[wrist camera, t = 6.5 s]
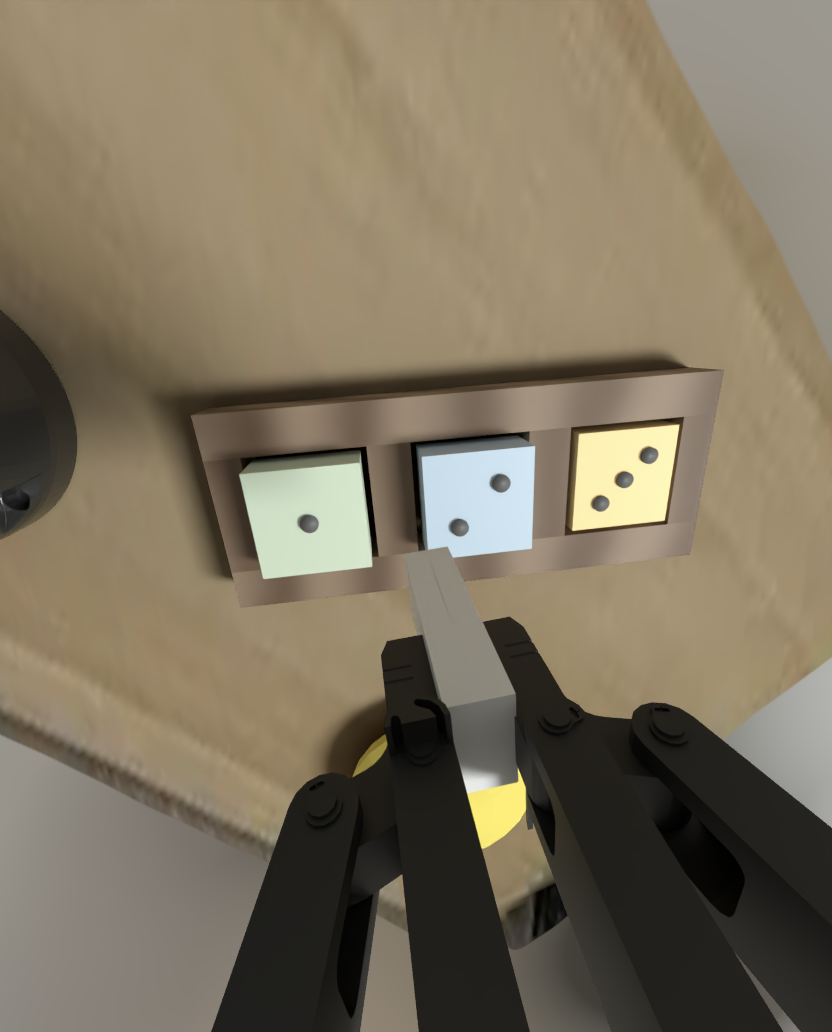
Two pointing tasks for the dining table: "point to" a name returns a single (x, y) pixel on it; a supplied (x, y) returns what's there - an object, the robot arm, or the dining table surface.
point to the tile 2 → (477, 495)
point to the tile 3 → (619, 473)
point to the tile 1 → (308, 513)
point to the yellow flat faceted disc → (475, 800)
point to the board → (455, 414)
